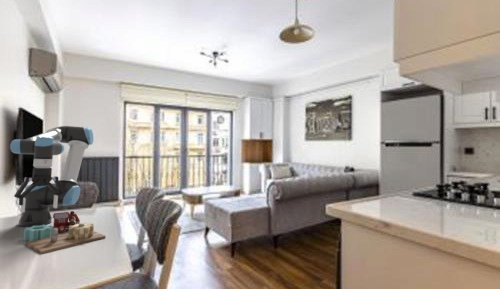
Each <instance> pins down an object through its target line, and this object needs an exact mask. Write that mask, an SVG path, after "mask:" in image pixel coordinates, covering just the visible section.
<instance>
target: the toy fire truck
mask: <svg viewBox="0 0 500 289" xmlns="http://www.w3.org/2000/svg"><path fill="white" fill-rule="evenodd" d="M52 219H53V226H52V229H54V228H57V229H58V234H62V233H63V234H64V233H65V232H66V230H67V229H69V226H73V225H75V224H81V223H80V221H81V220H80V218H79V216H78V215H77V213H75V211H74V210H71V211H70V212H69V211H64V212H55V213H53V214H52Z"/></svg>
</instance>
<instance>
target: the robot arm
mask: <svg viewBox="0 0 500 289" xmlns="http://www.w3.org/2000/svg"><path fill="white" fill-rule="evenodd" d="M93 142H94V133H93V130H92V128H90V127H86V126H74V125H73V126H70V125H63V126H57V127H53V128H52V127H51V128H50V129H47V130H46V131H45V132H43V133H39V134H37V135H34V136H32V137H28V138H26V139H20V138H18V139H13V140H12V141H11V143H10V145H9V146H10V152H12V153H13V154H18V155H33V164H32V166H33V168H32V175H31V176H32V177H26V176H25V177H24V178H23V181H22V183H21V184H20V187H19V188H18V189H17V191H16V192H15V194H14V197H13V198H15V199H16V198H17V199H18V205H19V206H20V212H21V216H20V218H19V220H18V226H19V227H25V228H30V227H32V226H35V225H36V226H41V225H46V226H47V225H48V224H49V225H50V224H51V223H53V222H52V220H53V216H51V215H52V214H51V212H50V206H52V208H53V209H58V206H63V207H65V206H73V205H75V204H76V203H77V202H78V200H79V198H80V195H81V187H80V186H79V183H78V182H77V181H78V180H77V179H78V177H79V173H80V169H81V167H82V160H83V158H84V155H85V150H87V149H89V146H90V145H91V146H92V145H93V144H94V143H93ZM64 144H68V146H69V148H68V152H67V156H66V159H65V162H64V165H63V169H62V173H61V176H60V179H59V176H52V175H53V174H52V170H53V169H52V167H53V161H54V160H53V159H54V158H53V157H54V156H58V155H61V154H62V153H64V152H65V145H64ZM51 181H52V182H53V181H54V185H53V184H52V183H51ZM30 182H32V183H30ZM29 183H30V184H29Z"/></svg>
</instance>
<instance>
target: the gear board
mask: <svg viewBox="0 0 500 289" xmlns="http://www.w3.org/2000/svg"><path fill="white" fill-rule="evenodd" d="M94 228H95V226H94V223H87V222H83V223H79V224H75V225H73V226H69V229H68V231H67V233H63V234H62V233H61V234H59V233H58V229H57V228H54V229H53V228H52V229H51V237H48V238H43V239H38V240H34V241H29V240H28V241H25V246H27V247H29V249H32V250H34V251H35V252H37V253H38V254H40V255H42V254H47V253H50V252H55V251H58V250H62V249H67V248H71V247H75V246H78V245H84V244H87V243H90V242H91V243H92V242H94V241H98V240H99V241H100V240H103V239H106V235H104V234H102V233H101V232H97V231H95V229H94Z"/></svg>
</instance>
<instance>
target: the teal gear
mask: <svg viewBox="0 0 500 289" xmlns="http://www.w3.org/2000/svg"><path fill="white" fill-rule="evenodd" d="M51 229H53V226H52V224H51V225H50V224H49V225H47V224H46V225H41V226H36V225H35V226H32V227H25V228H24V230H23V242H29V241H34V240H38V239H43V238H48V237H51Z"/></svg>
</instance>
